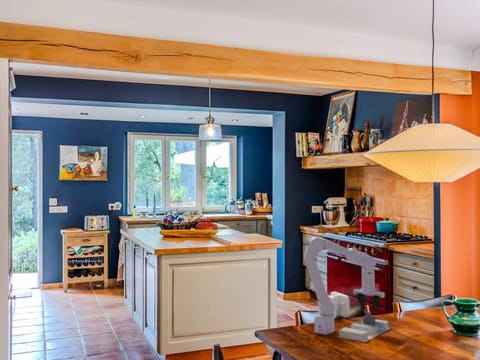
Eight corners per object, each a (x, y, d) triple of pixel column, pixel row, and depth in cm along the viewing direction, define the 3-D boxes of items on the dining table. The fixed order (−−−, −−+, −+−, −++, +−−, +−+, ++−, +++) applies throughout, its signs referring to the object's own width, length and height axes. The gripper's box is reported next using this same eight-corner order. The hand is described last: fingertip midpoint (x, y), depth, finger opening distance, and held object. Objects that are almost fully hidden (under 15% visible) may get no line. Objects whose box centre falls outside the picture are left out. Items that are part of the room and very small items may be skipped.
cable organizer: (317, 314, 255) (316, 292, 255) (334, 312, 259) (333, 290, 260) (333, 321, 241) (332, 297, 242) (351, 318, 245) (350, 295, 246)
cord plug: (371, 331, 218) (371, 313, 218) (363, 330, 221) (362, 312, 221) (375, 329, 221) (374, 312, 222) (367, 328, 224) (366, 310, 224)
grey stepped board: (365, 344, 203) (364, 334, 203) (337, 338, 212) (337, 328, 212) (390, 330, 223) (390, 321, 223) (364, 325, 232) (364, 316, 232)
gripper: (387, 281, 220) (387, 311, 220) (357, 278, 230) (358, 307, 229) (380, 284, 215) (381, 314, 215) (350, 280, 224) (351, 310, 224)
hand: (369, 311), depth 222 cm, fingers open, 5 cm apart
